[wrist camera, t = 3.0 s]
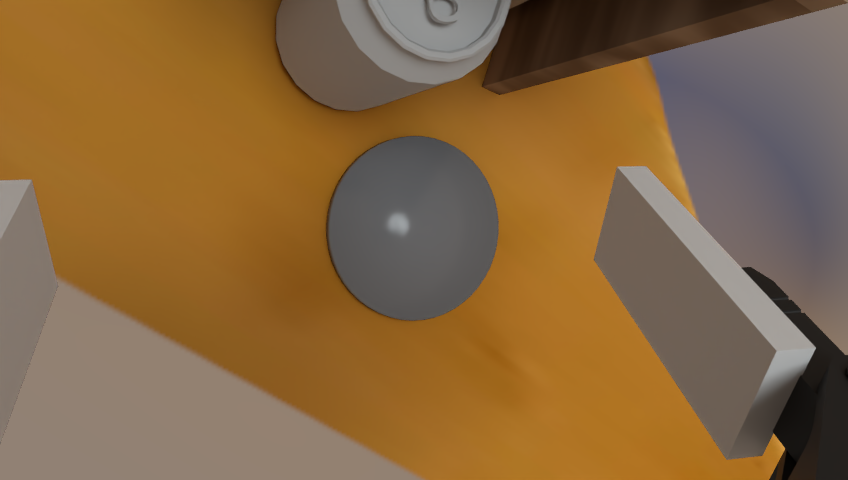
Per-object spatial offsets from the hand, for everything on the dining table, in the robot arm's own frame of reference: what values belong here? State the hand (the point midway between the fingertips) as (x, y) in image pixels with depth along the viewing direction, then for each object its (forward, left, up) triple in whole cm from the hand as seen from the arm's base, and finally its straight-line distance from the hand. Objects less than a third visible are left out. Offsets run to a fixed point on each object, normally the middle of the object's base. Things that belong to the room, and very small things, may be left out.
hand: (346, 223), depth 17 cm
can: (+3, +11, -21) cm, 23 cm away
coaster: (+10, +3, -21) cm, 23 cm away
